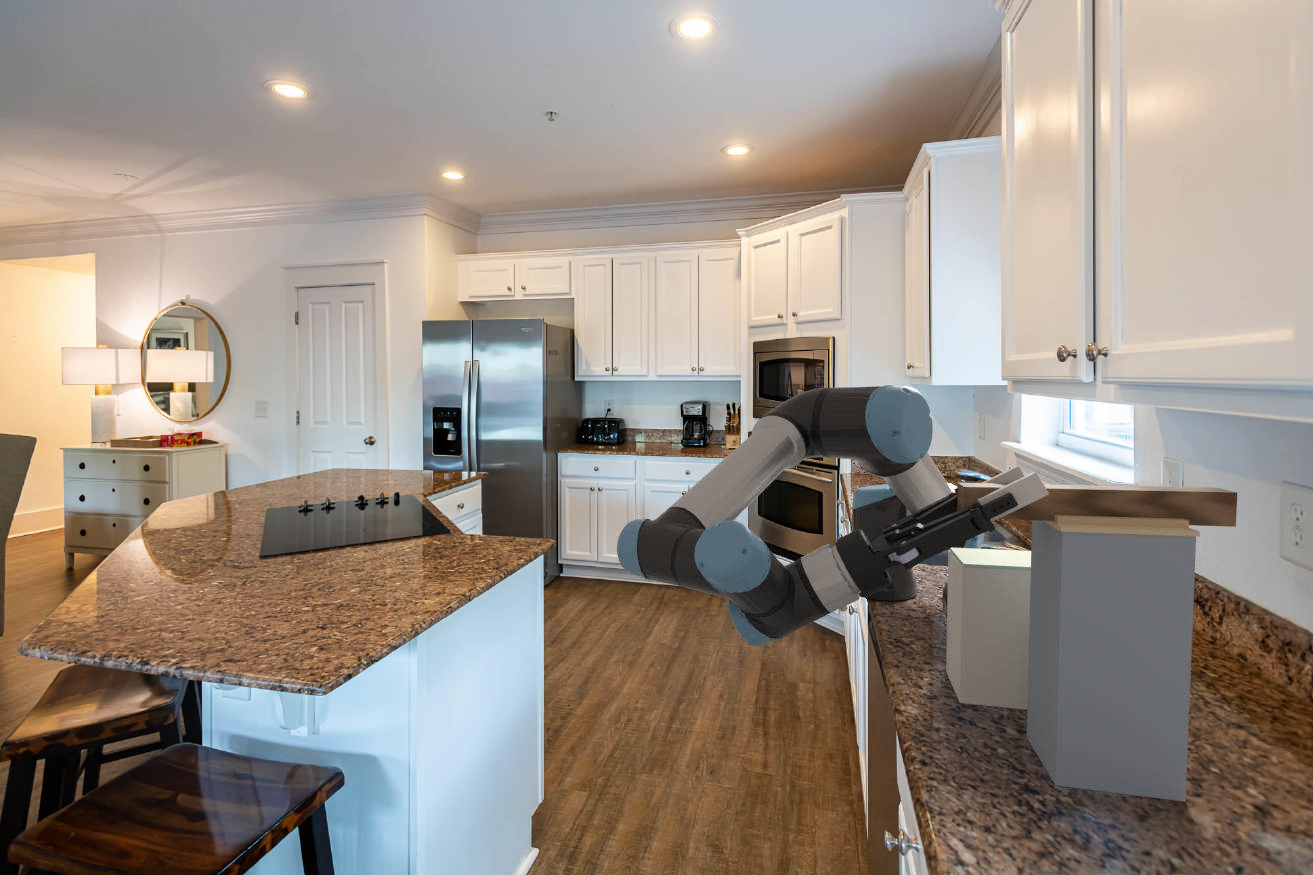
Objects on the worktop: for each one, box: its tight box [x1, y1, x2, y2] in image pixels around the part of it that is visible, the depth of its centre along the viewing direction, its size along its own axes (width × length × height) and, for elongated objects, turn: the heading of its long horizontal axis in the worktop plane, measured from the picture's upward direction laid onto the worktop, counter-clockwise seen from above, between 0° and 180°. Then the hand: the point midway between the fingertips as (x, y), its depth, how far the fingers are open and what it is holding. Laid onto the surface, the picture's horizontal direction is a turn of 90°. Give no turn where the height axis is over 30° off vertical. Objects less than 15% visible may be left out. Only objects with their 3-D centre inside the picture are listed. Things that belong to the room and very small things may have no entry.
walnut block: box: [957, 482, 1238, 528], centre depth 71 cm, size 26×4×4 cm, turn 75°
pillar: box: [1026, 515, 1201, 803], centre depth 71 cm, size 12×10×29 cm
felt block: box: [945, 548, 1031, 711], centre depth 89 cm, size 20×10×20 cm, turn 75°
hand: (1031, 479), depth 72 cm, fingers open, 6 cm apart
